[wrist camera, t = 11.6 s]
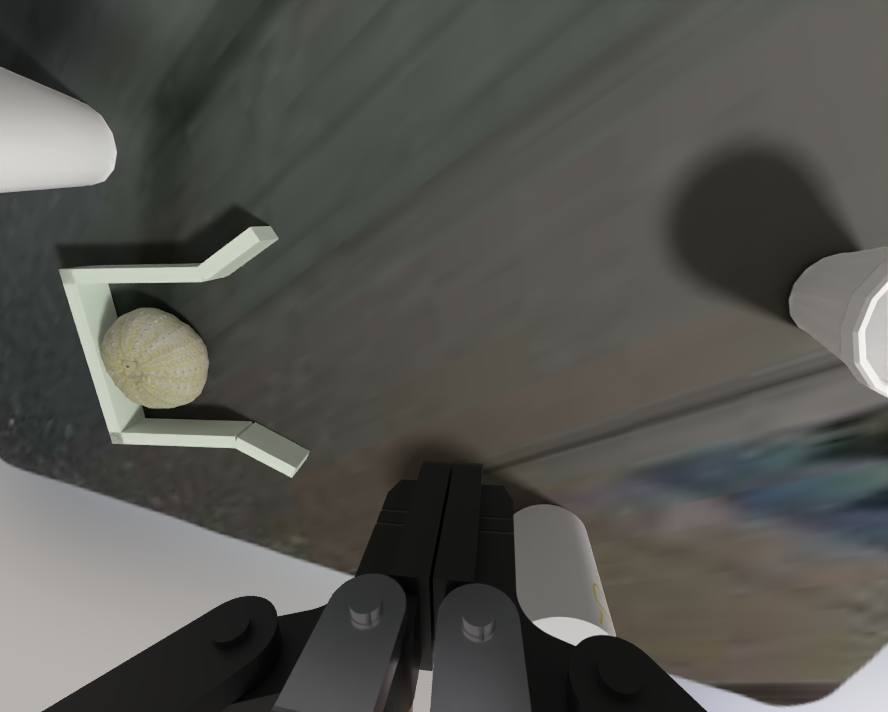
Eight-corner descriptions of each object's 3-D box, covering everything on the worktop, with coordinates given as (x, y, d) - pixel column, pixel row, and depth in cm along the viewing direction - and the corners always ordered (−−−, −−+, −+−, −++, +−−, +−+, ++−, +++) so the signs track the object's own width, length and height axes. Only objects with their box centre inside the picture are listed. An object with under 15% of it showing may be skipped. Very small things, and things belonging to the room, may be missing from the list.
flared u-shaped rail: (81, 231, 37) (47, 232, 34) (277, 225, 35) (257, 226, 32) (144, 453, 44) (120, 469, 41) (311, 460, 42) (297, 477, 39)
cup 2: (781, 378, 34) (879, 434, 25) (739, 267, 32) (832, 287, 23) (924, 322, 31) (1088, 363, 23) (890, 197, 29) (1057, 189, 21)
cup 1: (573, 580, 43) (600, 711, 31) (494, 560, 43) (493, 683, 32) (598, 516, 40) (638, 634, 29) (514, 495, 40) (521, 604, 29)
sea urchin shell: (129, 415, 40) (49, 382, 33) (157, 343, 44) (91, 299, 37) (216, 415, 39) (153, 380, 32) (238, 341, 43) (186, 295, 36)
